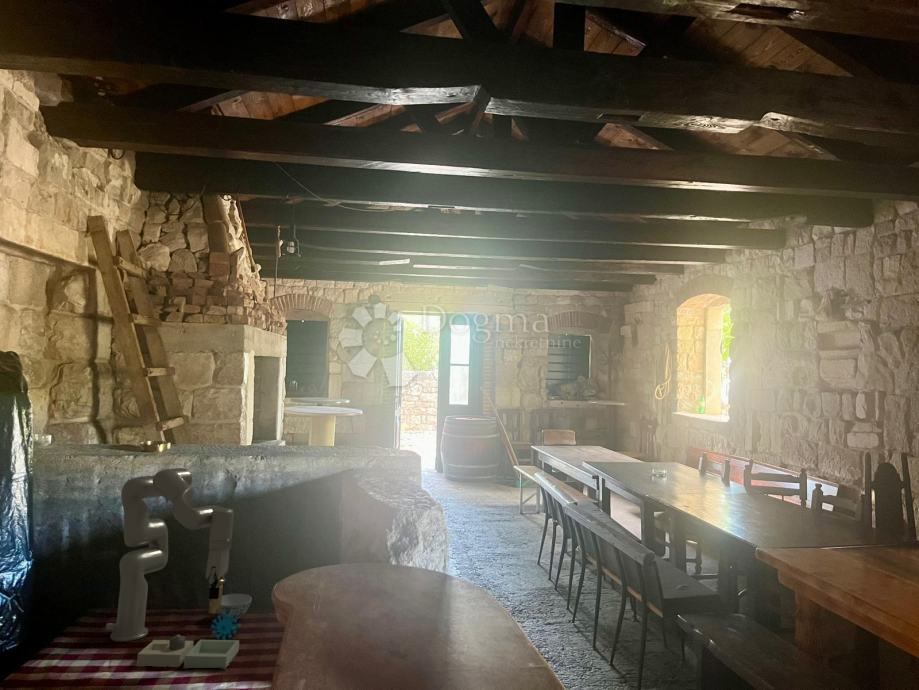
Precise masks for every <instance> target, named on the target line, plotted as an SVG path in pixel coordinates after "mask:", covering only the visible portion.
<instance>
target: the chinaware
mask: <svg viewBox="0 0 919 690" xmlns="http://www.w3.org/2000/svg"><path fill="white" fill-rule="evenodd" d="M252 600H253V598H252V596H251V595H249V594H243V593H231V594H225V595H224V594H223V595H222V603H221V612H219V613H217V614H218V616H219V615H221V618H222V619H223V618H224V617H223V616H224V614H227V617H226V618H225V619H228V618H229V617H230V615H232V616H233V618H232V619H229V620H230V621H233V620H234V619H236V620H237V619H238V620H240V619H239V618H241V616H243V615H244V614H245V613H246V612H247V611H248V610H249V607H250V606H251V604H252ZM238 620H237V621H238Z"/></svg>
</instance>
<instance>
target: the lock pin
mask: <svg viewBox="0 0 919 690" xmlns="http://www.w3.org/2000/svg"><path fill="white" fill-rule="evenodd" d="M215 581H216V583H217V580H215ZM225 582H226V578H220V579H219V586H218V587H219V598H218V599H209V603H208V604H209V605H208V614H218V613H219V612H221V603H222V596H223V595H222V591H223V592H224V590H223V583H224V584H225Z"/></svg>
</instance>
